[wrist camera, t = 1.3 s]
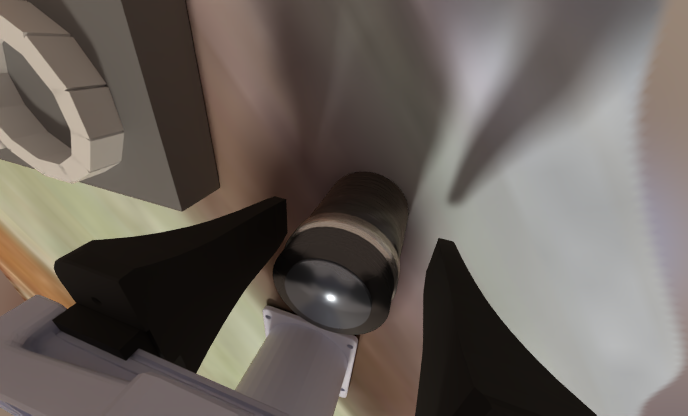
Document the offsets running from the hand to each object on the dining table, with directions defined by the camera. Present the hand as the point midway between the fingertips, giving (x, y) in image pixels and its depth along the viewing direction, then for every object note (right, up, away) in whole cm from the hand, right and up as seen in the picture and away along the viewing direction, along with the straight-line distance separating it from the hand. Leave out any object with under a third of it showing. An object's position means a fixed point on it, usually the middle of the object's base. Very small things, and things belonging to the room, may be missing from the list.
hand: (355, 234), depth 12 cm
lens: (+1, +1, +2) cm, 3 cm away
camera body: (-15, +9, +3) cm, 18 cm away
